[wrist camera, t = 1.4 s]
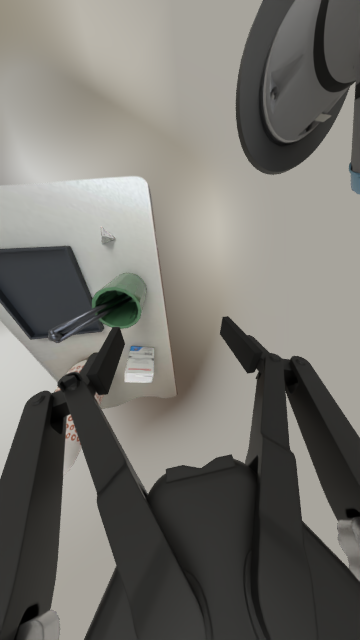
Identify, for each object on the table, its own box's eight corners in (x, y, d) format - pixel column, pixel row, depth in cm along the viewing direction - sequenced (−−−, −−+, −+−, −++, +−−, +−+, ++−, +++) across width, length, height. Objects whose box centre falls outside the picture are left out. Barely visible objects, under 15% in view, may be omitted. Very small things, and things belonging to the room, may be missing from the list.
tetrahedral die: (115, 246, 32) (116, 247, 30) (101, 243, 31) (102, 244, 28) (114, 230, 30) (116, 230, 28) (100, 226, 29) (101, 226, 27)
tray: (-30, 250, 28) (-42, 250, 26) (70, 246, 30) (65, 246, 28) (35, 335, 40) (30, 339, 38) (104, 328, 42) (101, 331, 40)
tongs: (100, 286, 35) (41, 333, 17) (142, 284, 36) (128, 325, 18) (103, 295, 36) (50, 346, 18) (144, 292, 37) (131, 337, 20)
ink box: (130, 355, 49) (123, 383, 39) (131, 345, 47) (123, 372, 37) (153, 356, 51) (151, 383, 41) (154, 347, 49) (154, 373, 39)
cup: (115, 268, 34) (92, 281, 22) (149, 278, 36) (144, 294, 24) (112, 299, 38) (91, 324, 26) (143, 305, 40) (137, 331, 28)
